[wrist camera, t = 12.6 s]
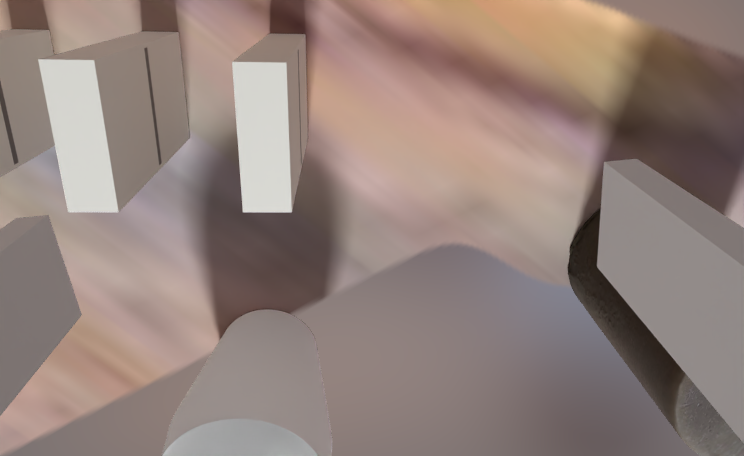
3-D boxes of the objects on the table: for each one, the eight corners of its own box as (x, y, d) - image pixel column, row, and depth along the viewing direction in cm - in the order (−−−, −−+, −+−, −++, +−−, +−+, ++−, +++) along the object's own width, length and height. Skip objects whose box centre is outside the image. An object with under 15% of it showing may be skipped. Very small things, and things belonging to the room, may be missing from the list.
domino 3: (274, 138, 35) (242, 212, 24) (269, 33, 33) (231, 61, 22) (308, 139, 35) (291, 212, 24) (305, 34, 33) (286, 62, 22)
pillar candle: (543, 238, 39) (654, 388, 25) (682, 160, 37) (885, 274, 23) (601, 341, 42) (727, 521, 28) (731, 273, 40) (932, 431, 27)
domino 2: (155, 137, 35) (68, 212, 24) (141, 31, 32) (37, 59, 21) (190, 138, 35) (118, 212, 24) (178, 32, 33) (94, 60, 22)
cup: (177, 334, 40) (113, 469, 29) (284, 269, 39) (261, 385, 28) (256, 420, 43) (226, 571, 32) (359, 363, 42) (364, 502, 31)
